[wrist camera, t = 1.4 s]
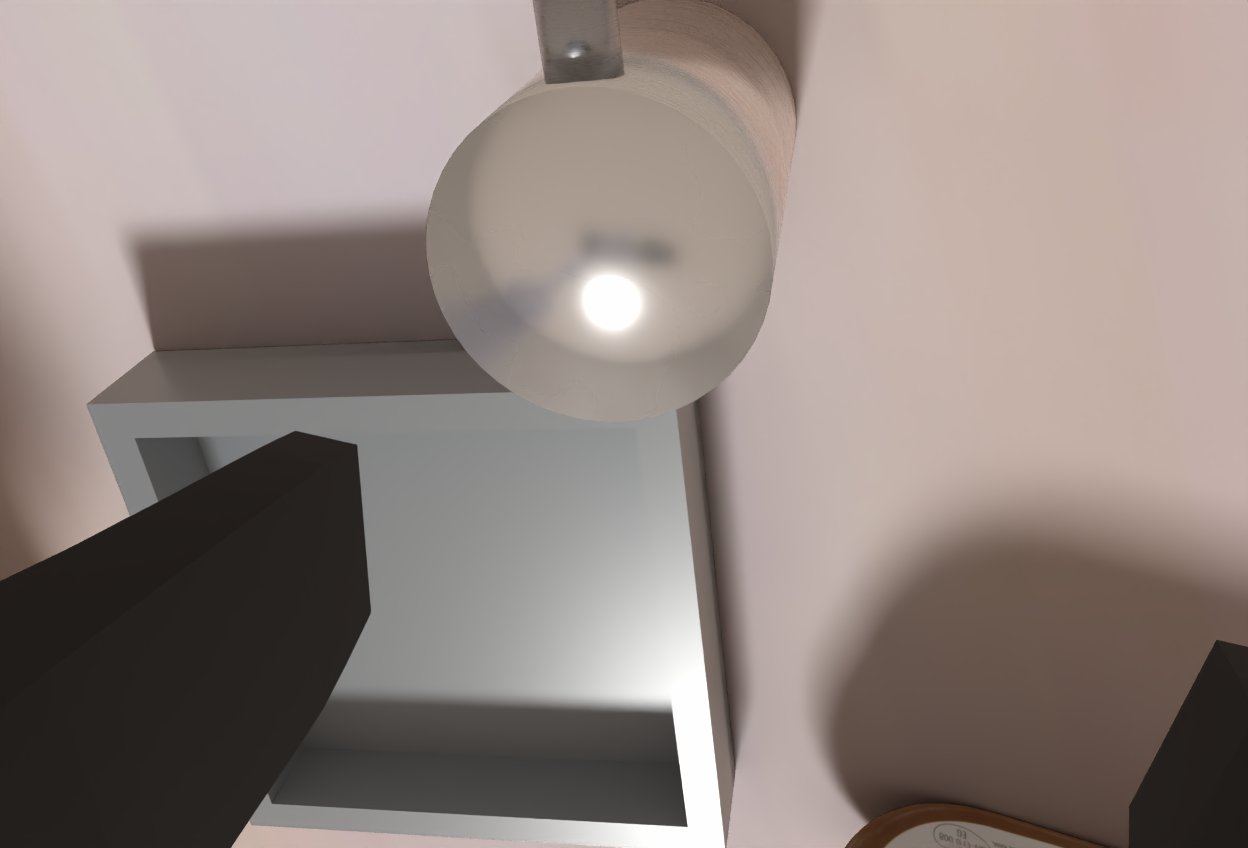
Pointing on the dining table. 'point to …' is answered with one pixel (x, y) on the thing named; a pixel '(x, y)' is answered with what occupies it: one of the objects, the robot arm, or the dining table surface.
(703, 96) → the handled mug
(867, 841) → the tin
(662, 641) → the parts tray
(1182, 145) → the dining table surface
